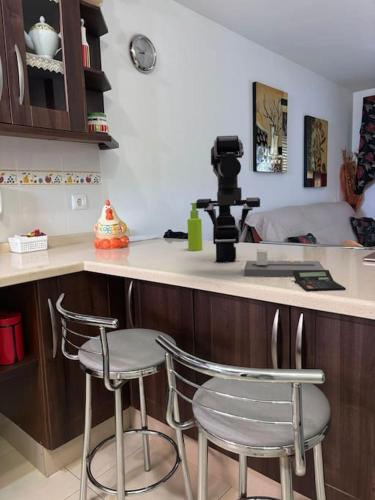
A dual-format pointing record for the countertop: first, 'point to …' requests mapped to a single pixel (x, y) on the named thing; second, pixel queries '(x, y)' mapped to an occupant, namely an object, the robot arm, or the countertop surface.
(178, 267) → the countertop surface
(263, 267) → the gray slotted panel
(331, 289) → the calculator
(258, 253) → the fader
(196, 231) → the soap dispenser
